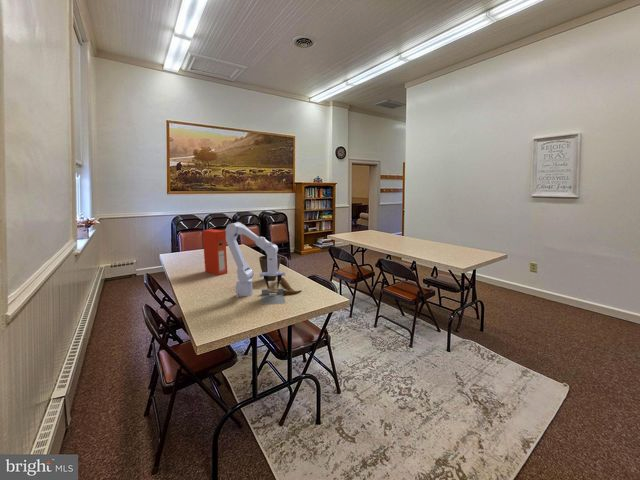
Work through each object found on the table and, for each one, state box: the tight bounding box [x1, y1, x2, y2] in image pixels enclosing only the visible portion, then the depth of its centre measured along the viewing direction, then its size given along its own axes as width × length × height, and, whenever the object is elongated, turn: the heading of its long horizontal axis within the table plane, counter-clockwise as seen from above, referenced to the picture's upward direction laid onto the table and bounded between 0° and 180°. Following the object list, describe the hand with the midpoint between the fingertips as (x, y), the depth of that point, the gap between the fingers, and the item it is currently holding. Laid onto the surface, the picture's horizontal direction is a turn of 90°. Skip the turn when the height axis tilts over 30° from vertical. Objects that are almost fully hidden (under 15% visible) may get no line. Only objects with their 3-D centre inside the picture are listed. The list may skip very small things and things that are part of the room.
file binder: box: [202, 228, 228, 276], centre depth 230 cm, size 8×17×32 cm, turn 51°
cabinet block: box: [268, 280, 278, 292], centre depth 179 cm, size 5×6×5 cm
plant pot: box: [258, 254, 282, 281], centre depth 214 cm, size 15×15×16 cm
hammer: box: [280, 277, 302, 296], centre depth 197 cm, size 12×3×30 cm
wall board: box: [261, 287, 286, 306], centre depth 177 cm, size 13×18×4 cm
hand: (272, 287), depth 180 cm, fingers closed on cabinet block, 5 cm apart
